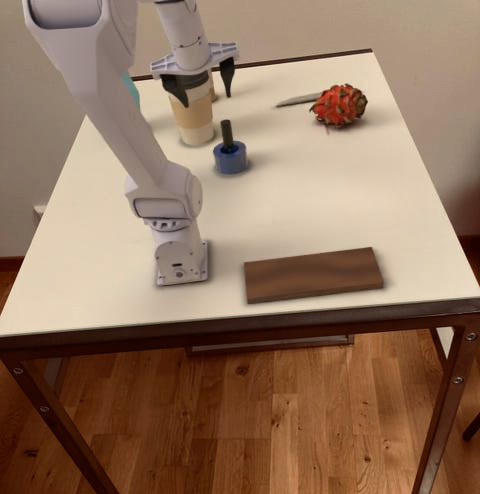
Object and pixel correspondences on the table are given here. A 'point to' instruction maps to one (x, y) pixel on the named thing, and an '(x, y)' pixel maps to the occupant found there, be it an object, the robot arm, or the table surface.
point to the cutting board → (312, 275)
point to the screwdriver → (227, 134)
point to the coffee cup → (194, 109)
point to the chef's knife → (302, 99)
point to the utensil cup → (230, 158)
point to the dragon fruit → (340, 105)
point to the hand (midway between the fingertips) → (207, 98)
